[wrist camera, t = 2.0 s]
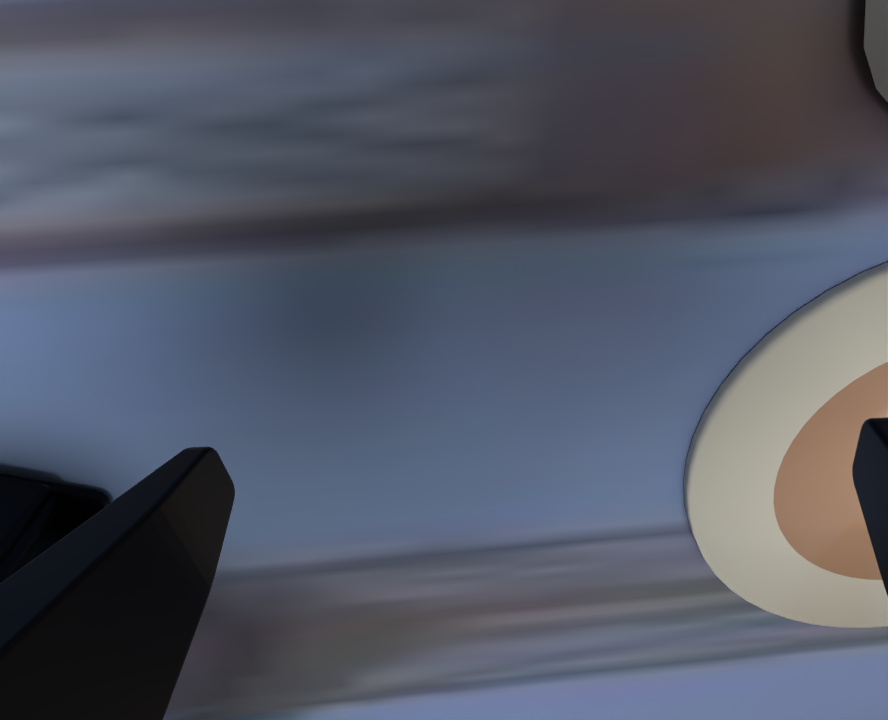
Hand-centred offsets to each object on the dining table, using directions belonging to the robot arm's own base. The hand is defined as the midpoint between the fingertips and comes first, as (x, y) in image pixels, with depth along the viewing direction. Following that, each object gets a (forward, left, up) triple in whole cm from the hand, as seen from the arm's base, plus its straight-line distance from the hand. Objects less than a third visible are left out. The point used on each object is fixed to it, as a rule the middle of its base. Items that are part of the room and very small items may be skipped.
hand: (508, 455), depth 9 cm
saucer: (-5, -18, -12) cm, 22 cm away
